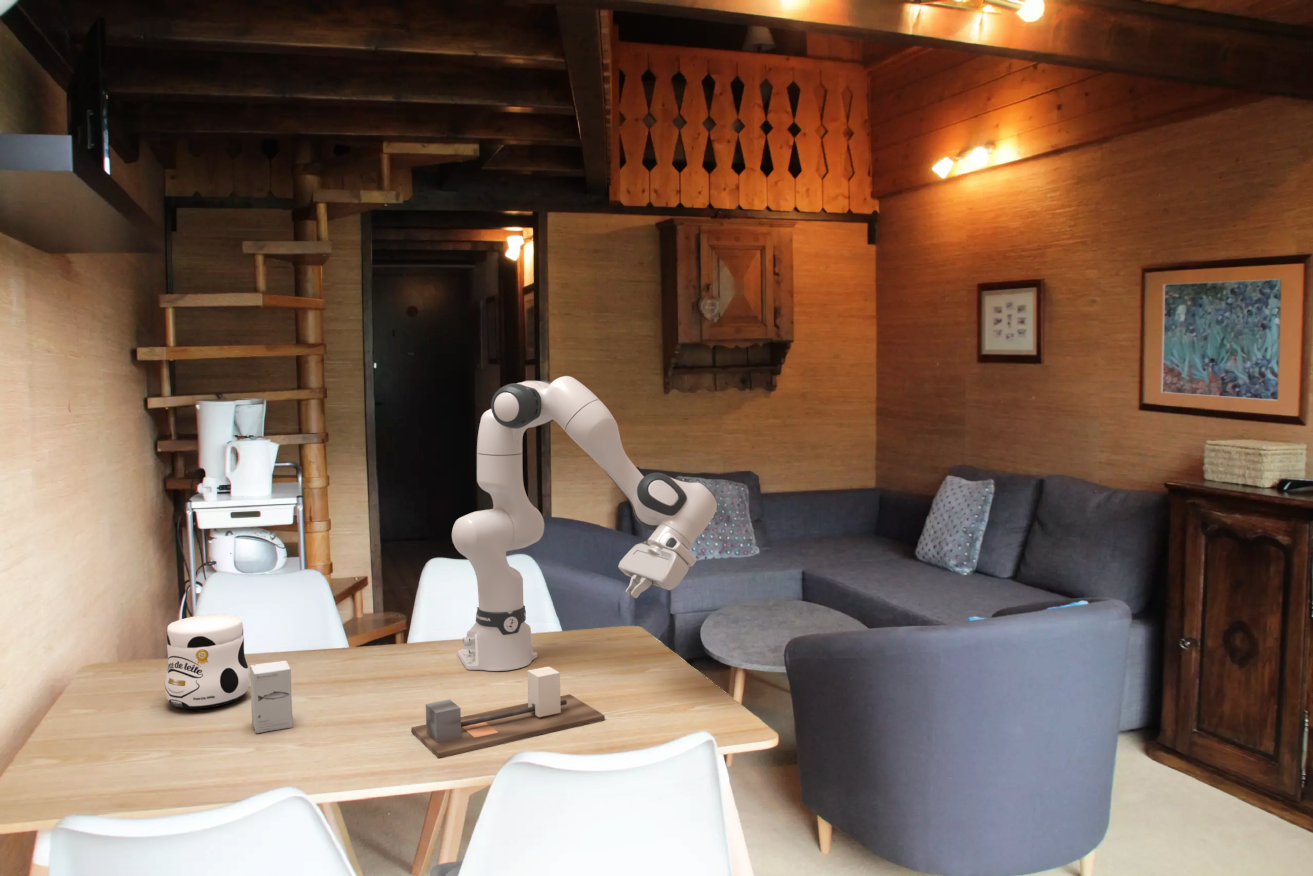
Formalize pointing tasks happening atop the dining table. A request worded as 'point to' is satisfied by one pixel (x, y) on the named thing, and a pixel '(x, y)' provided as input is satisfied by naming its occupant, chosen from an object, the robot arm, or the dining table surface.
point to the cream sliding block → (544, 691)
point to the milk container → (206, 661)
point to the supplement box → (271, 696)
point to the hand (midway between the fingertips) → (630, 595)
